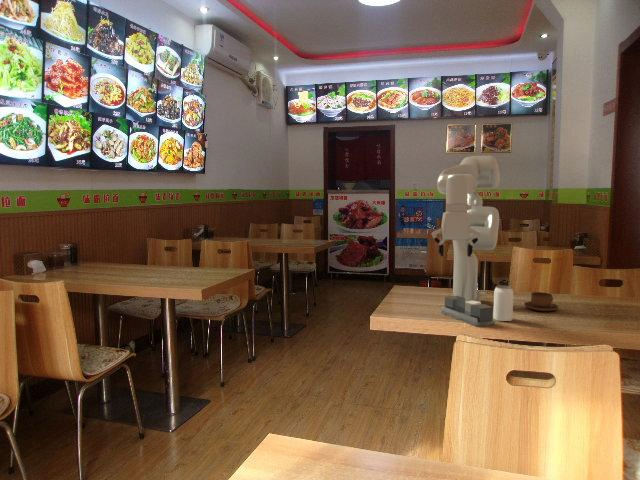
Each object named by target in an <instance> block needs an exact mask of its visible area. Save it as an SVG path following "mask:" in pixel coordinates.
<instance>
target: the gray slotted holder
mask: <svg viewBox="0 0 640 480" xmlns="http://www.w3.org/2000/svg"><path fill="white" fill-rule="evenodd" d="M440 311H441V312H440V313H441V314H442V313H443V315H445V314H446V315H445V316H447V315H448V317H450V316H451V317H450V318H452V317H453V318H452V319H455V318H456V319H455V320H458V321H460V320H461V322H463V321H464V322H463V323H465V322H466V323H465V324H467V325H468V324H469V325H471V326H474V327H476V328H478V327H484V326H491V325H492V324H494V325H495V324H496V320H494V318H493V311H494V306H490V305H489V304H485V303H481V304H479V305H471V307H470V312H468V311H465V298H463V297H460V296H453V295H450V296H448V295H447V296H444V305H442V306H441V309H440Z"/></svg>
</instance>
